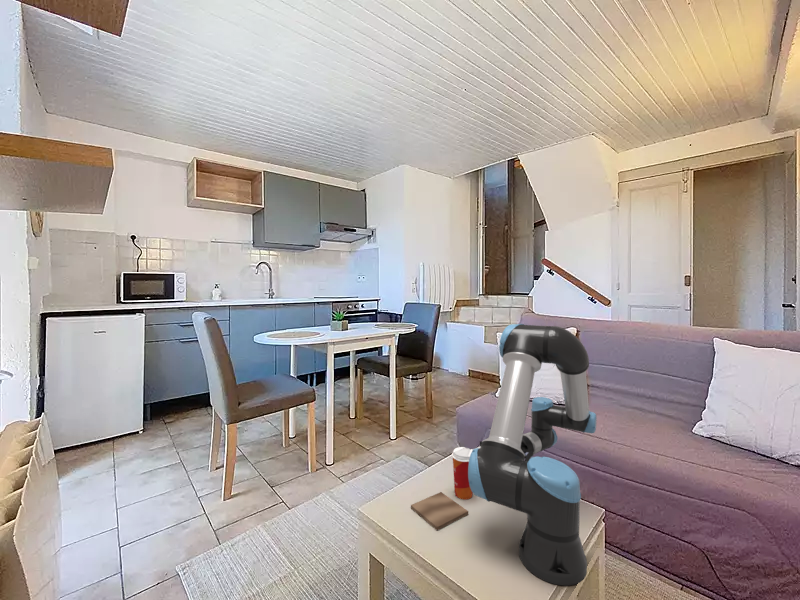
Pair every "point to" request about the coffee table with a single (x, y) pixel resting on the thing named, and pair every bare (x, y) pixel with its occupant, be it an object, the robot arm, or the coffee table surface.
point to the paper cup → (461, 472)
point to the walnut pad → (439, 510)
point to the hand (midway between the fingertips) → (486, 461)
